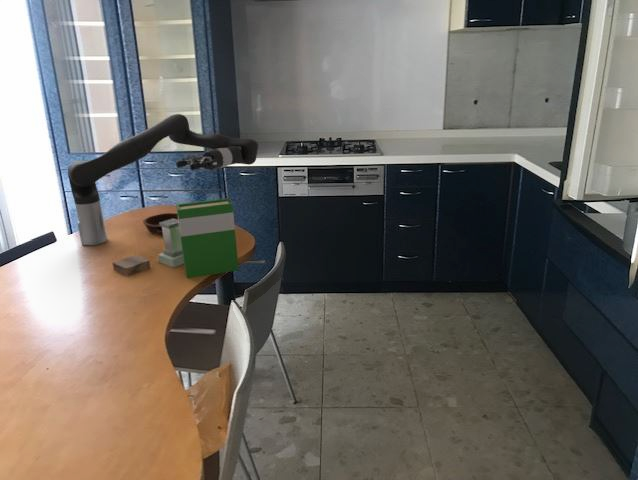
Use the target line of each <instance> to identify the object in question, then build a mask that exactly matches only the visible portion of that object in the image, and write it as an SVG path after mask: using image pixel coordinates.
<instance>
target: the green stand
mask: <svg viewBox="0 0 638 480" xmlns="http://www.w3.org/2000/svg"><path fill="white" fill-rule="evenodd" d="M157 258H158V263H160V264H163V265H166V266H168V267H170V268H176V267H179V266H182V265H184V258H183V254H182V255H179V256H176V257H174V258H173V257H171V256H168V255H165V254H164V252H161V253H158V254H157Z"/></svg>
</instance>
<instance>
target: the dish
mask: <svg viewBox="0 0 638 480" xmlns="http://www.w3.org/2000/svg"><path fill="white" fill-rule="evenodd" d="M173 218H174V219H177V220H178V214H177V212H176V213H173V212H165V213H159V214H154V215H151V216H148V217H146V218H144V220H143V221H142V224H143V225H144V226H145V227H146V229H147V231H149V232H150V233H152V234H157V235H160V236H163V232H162V226H160V225H159V223H160V222H163V221H166V220H170V219H173Z"/></svg>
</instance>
